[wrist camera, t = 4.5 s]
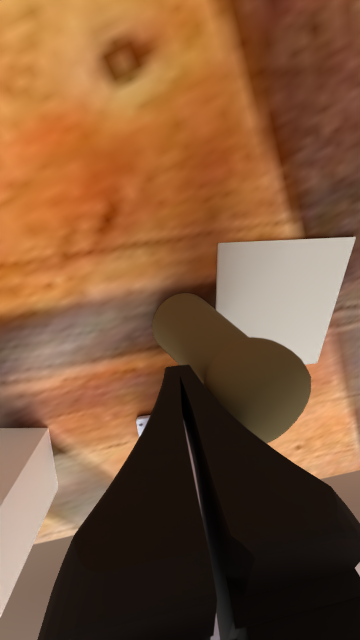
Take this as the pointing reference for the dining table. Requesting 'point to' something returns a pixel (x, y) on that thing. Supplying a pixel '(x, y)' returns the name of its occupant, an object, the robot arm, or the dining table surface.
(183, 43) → the dining table surface
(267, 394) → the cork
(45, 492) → the milk
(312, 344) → the mat
